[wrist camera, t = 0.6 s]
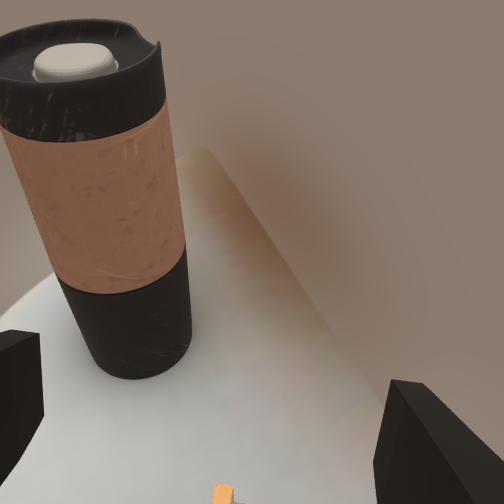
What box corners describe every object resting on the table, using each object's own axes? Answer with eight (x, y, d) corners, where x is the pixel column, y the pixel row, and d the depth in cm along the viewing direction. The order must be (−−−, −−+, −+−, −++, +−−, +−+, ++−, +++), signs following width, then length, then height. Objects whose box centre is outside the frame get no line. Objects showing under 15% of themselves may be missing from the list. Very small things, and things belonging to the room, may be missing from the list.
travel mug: (67, 375, 31) (-71, 77, 18) (109, 290, 37) (29, 13, 23) (180, 391, 31) (127, 91, 17) (206, 301, 36) (181, 21, 23)
